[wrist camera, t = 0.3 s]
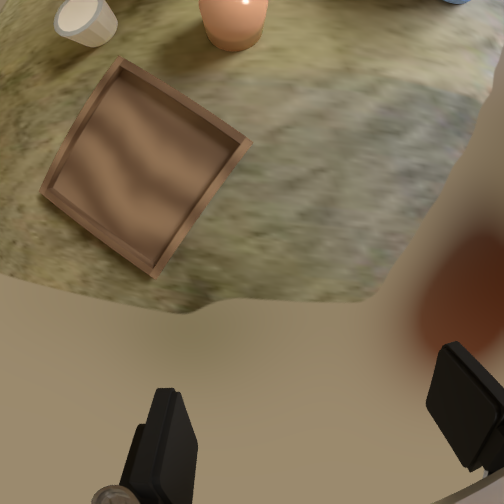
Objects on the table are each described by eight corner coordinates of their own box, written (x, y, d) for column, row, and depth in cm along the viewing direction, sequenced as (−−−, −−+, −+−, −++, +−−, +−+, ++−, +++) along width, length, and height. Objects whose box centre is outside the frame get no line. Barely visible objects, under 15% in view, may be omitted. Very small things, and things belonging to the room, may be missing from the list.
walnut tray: (125, 60, 32) (118, 55, 30) (252, 143, 36) (253, 142, 34) (48, 189, 36) (38, 191, 34) (160, 272, 40) (155, 279, 38)
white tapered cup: (78, 58, 32) (53, 45, 25) (76, 20, 30) (53, 3, 23) (124, 40, 31) (104, 22, 25) (120, 2, 29) (102, -20, 23)
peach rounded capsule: (229, -3, 30) (227, -34, 23) (274, 23, 32) (281, -5, 24) (194, 34, 32) (184, 7, 24) (239, 61, 33) (240, 38, 26)
